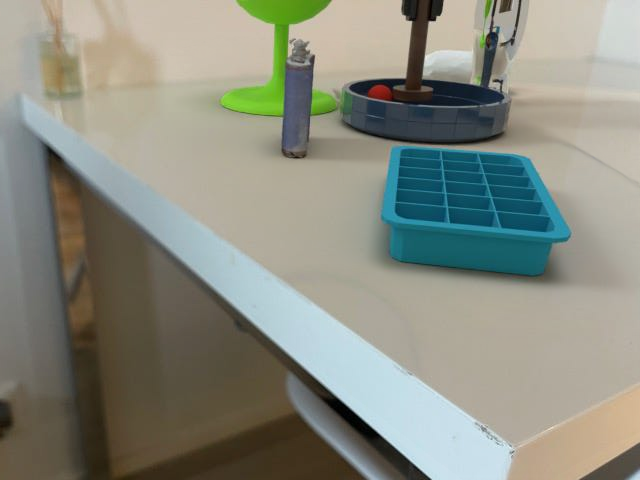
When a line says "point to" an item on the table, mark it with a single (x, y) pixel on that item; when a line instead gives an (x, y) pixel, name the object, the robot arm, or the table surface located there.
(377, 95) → the cherry tomato
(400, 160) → the ice cube tray
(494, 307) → the table surface
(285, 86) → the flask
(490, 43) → the beer glass
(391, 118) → the bowl
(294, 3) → the wineglass
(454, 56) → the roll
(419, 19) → the wooden towel stand
